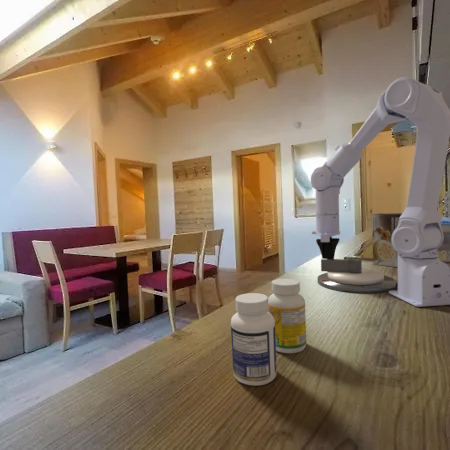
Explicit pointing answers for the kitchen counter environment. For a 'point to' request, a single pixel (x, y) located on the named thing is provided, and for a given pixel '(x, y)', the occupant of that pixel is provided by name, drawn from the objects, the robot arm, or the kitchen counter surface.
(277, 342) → the supplement bottle
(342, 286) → the dial plate
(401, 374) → the kitchen counter surface
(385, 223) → the coffee box
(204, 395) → the kitchen counter surface
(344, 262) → the dial
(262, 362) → the pill bottle
